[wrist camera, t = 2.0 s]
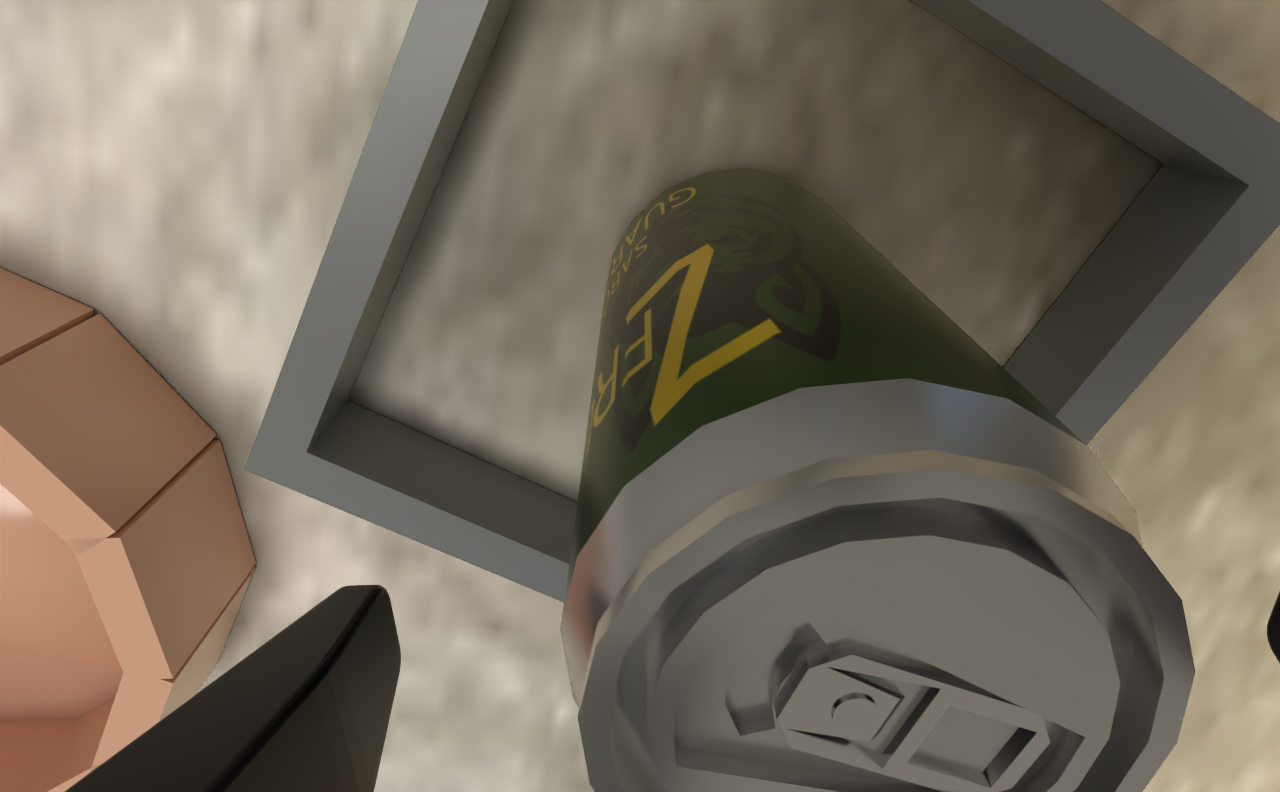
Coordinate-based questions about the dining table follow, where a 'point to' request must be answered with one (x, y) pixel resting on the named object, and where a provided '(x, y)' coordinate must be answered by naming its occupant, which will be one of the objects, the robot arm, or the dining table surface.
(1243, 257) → the gray square frame
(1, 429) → the bowl
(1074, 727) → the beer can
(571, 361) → the dining table surface
